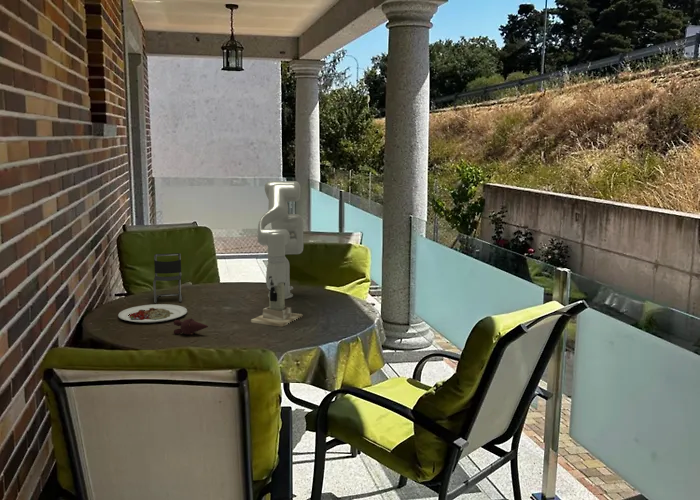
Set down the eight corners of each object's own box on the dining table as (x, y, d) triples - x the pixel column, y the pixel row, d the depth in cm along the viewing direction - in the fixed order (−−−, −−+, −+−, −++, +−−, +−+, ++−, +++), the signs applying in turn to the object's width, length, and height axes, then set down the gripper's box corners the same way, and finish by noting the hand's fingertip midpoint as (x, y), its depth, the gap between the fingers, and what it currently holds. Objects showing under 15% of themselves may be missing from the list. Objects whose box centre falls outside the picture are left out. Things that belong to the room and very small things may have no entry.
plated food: (200, 312, 306) (200, 305, 305) (156, 328, 279) (156, 321, 278) (150, 305, 318) (150, 298, 318) (103, 320, 291) (103, 313, 291)
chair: (182, 295, 338) (180, 253, 335) (181, 303, 322) (179, 259, 318) (156, 296, 336) (154, 253, 332) (153, 304, 319) (151, 259, 315)
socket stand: (272, 312, 304) (272, 301, 304) (302, 316, 298) (302, 305, 297) (250, 322, 288) (250, 310, 287) (282, 326, 282) (282, 315, 281)
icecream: (211, 317, 272) (177, 318, 275) (203, 317, 265) (169, 318, 268) (211, 334, 271) (177, 335, 274) (204, 335, 264) (169, 336, 267)
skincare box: (285, 308, 294) (284, 281, 292) (282, 310, 290) (282, 283, 288) (271, 307, 295) (271, 281, 293) (268, 310, 291) (268, 283, 289)
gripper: (279, 255, 298) (279, 294, 301) (258, 262, 283) (259, 303, 286) (293, 257, 295) (293, 296, 298) (273, 263, 279) (274, 304, 283)
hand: (277, 299), depth 292 cm, fingers closed on skincare box, 5 cm apart
